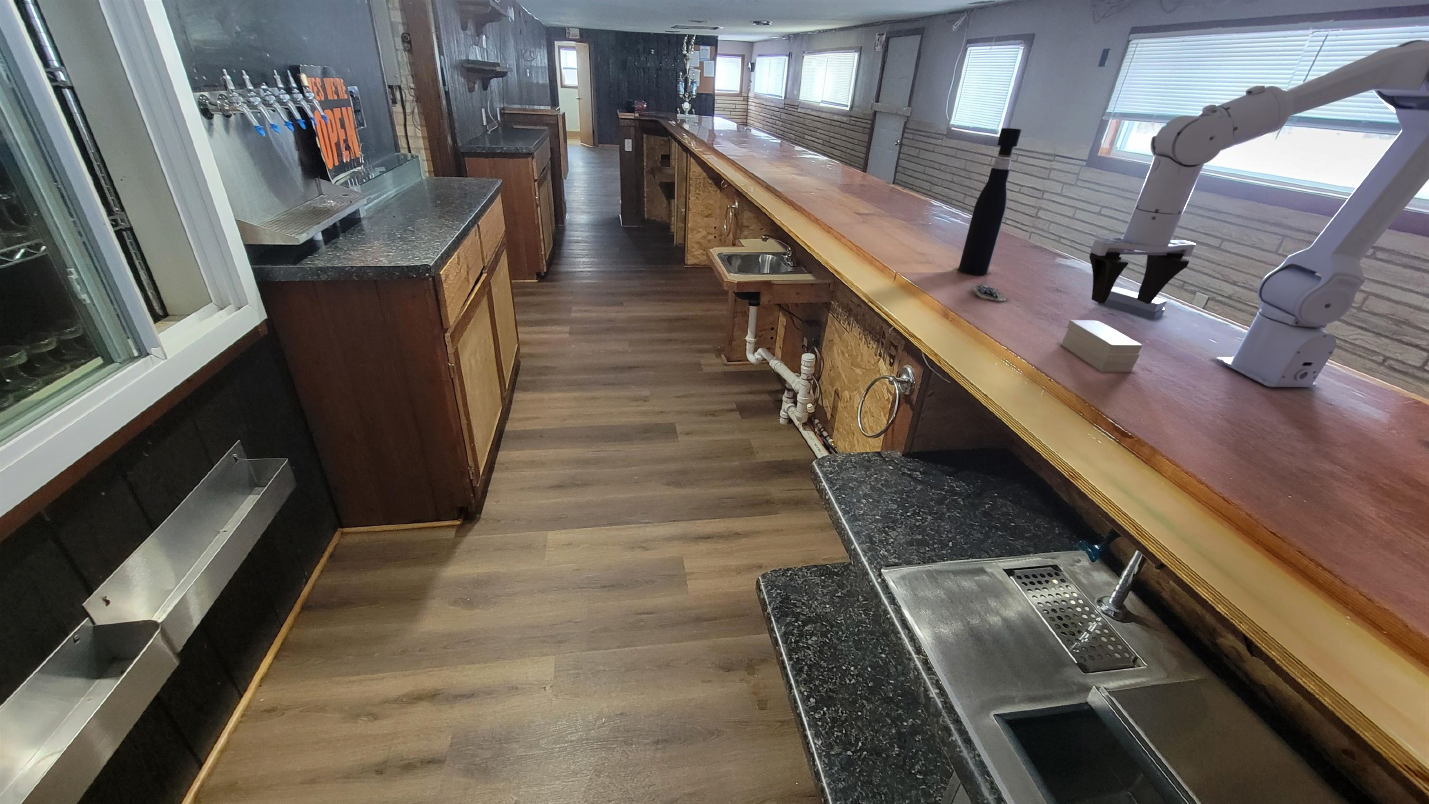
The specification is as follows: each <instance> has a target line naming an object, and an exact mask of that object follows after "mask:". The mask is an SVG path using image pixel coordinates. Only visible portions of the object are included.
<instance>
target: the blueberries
mask: <svg viewBox="0 0 1429 804" xmlns="http://www.w3.org/2000/svg"><path fill="white" fill-rule="evenodd" d="M970 288H971V290H972V291H973V292H974V294H975V295H976V296H978V297H979V298H981V299H985V300H991V301H996V302H1006V300H1007V298H1006V297H1004V295H1003V293H1001V292H1002V291H1001V290H1000V291H999V289H996V288H995V287H992V286H990V285H987V286H986V285H985V284H980V285H976V286H970ZM1002 295H1003V296H1002Z"/></svg>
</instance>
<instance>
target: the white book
mask: <svg viewBox="0 0 1429 804" xmlns="http://www.w3.org/2000/svg"><path fill="white" fill-rule="evenodd" d="M1066 329H1070V330H1071V331H1073V332H1075V333H1076V334H1078V335H1079V336H1081V337H1083V338H1084V339H1086V340H1088V341H1089V342H1091V343H1092V344H1094V345H1096V346H1097V347H1099V348H1101V349H1102V350H1104V351H1105V352H1107V353H1138V354H1140V352H1141V350H1142V347H1143V344H1141V343H1140V342H1138V341H1136V340H1134V339H1132V338H1130V337H1129V336H1127V335H1125V334H1123V333H1122V332H1120V331H1118V330H1117V329H1114V328H1113V327H1111V326H1109V325H1107V324H1105V323H1104V322H1102V321H1100V320H1098V319H1097V320H1095V319H1094V320H1093V319H1091V320H1089V319H1087V320H1086V319H1085V320H1083V319H1078V320H1077V319H1070V320H1069V321H1068V325H1067V327H1066Z"/></svg>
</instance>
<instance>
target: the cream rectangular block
mask: <svg viewBox="0 0 1429 804" xmlns="http://www.w3.org/2000/svg"><path fill="white" fill-rule="evenodd" d="M1060 345H1061V346H1062V347H1064V348H1065V349H1066V350H1068V351H1070V352H1071V353H1073V354H1074V355H1076V356H1077V357H1078V358H1079V359H1081V360H1083V361H1084V362H1086V363H1088V364H1090V365H1091V366H1092V367H1093V368H1095V369H1097V371H1100V372H1132V371H1133V369H1134V367H1135V365H1136V363H1137V361H1138V359H1139V357H1140V353H1107V352H1105V351H1104V350H1102V349H1101V348H1099V347H1097V346H1096V345H1094V344H1092V343H1091V342H1089V341H1088V340H1086V339H1084V338H1083V337H1081V336H1079V335H1078V334H1076V333H1075V332H1073V331H1071V330H1070V329H1068V328H1066V332H1065V334H1064V337H1063V339H1062V341H1061V344H1060Z"/></svg>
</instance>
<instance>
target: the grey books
mask: <svg viewBox="0 0 1429 804" xmlns="http://www.w3.org/2000/svg"><path fill="white" fill-rule="evenodd" d="M1138 292H1139V291H1138ZM1138 292H1137V291H1133V290H1130V289H1126V288H1123V287H1118V286H1114V285H1113V287H1112V290H1111V292H1110V294H1109V296H1108V298H1107V300H1106V302H1105V303H1104V304H1100V303H1098V302H1097V305H1099V306H1103V307H1105V308H1109V309H1113V310H1116V311H1119V312H1123V313H1127V314H1130V315H1133V316H1136V317H1140V318H1144V319H1147V320H1150V321H1154V320H1157V319H1159V318H1162V317H1163V315H1164V313H1165V311H1166V308H1165V306H1166V304H1167V302H1168V300H1167V299H1163V298H1161V297H1160V298H1159V297H1157V296H1156V297H1155V298H1154V300H1153V301H1152V302H1151V303H1150V304H1146V303H1144V302H1141V301H1139V300H1137V296H1138Z"/></svg>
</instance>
